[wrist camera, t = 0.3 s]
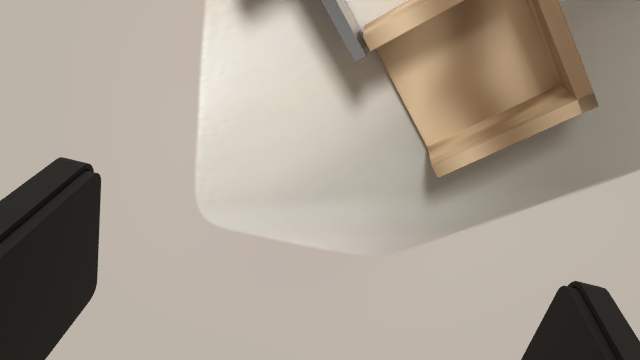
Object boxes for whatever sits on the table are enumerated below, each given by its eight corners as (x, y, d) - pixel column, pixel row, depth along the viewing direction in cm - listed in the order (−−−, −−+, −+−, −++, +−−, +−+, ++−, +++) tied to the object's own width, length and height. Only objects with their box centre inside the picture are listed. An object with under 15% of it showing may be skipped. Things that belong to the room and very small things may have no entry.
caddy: (518, -61, 34) (535, -59, 30) (577, 88, 37) (598, 106, 34) (364, 25, 37) (363, 37, 33) (432, 155, 41) (437, 177, 37)
